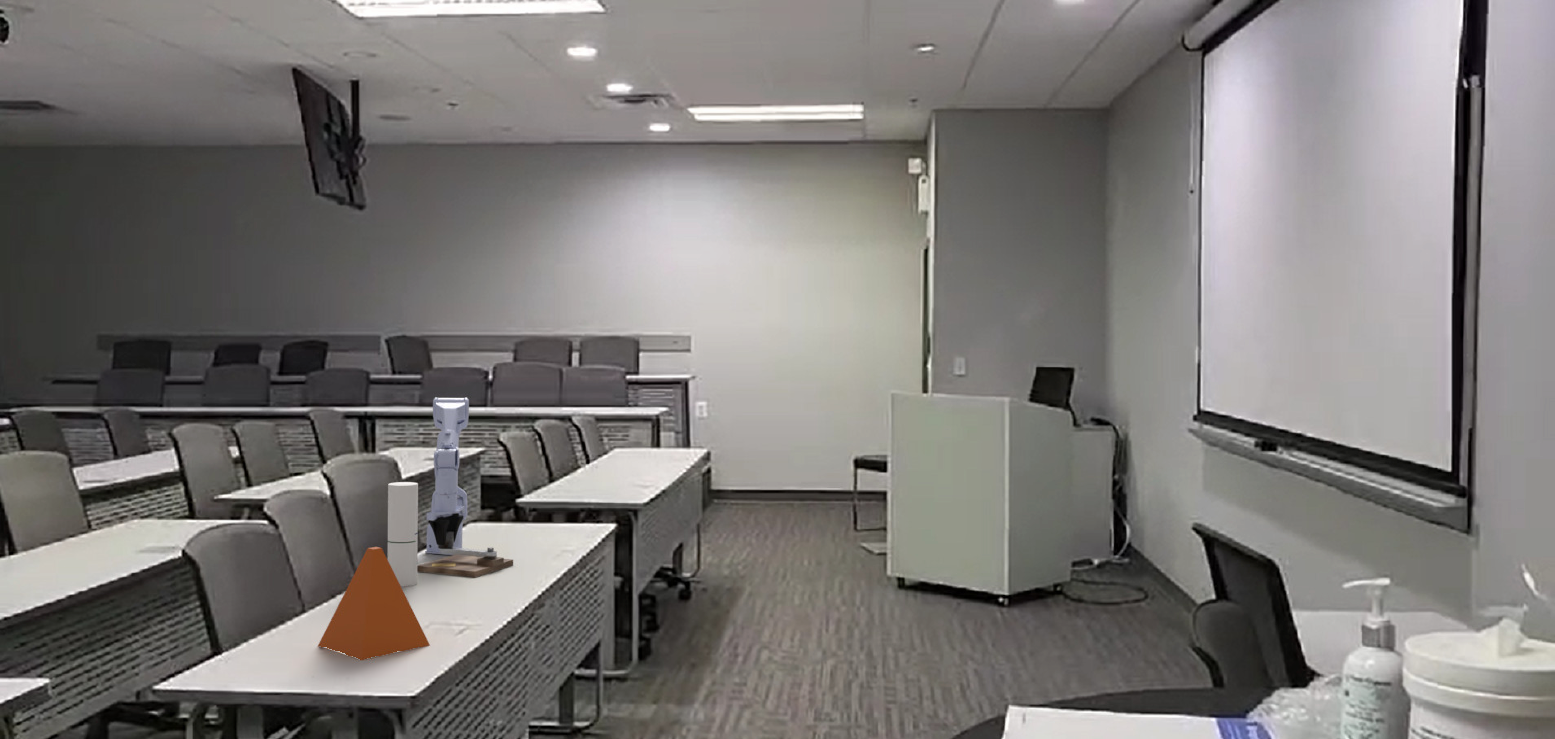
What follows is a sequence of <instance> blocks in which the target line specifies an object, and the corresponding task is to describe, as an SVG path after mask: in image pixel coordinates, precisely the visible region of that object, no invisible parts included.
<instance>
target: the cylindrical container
mask: <svg viewBox="0 0 1555 739" xmlns="http://www.w3.org/2000/svg"><path fill="white" fill-rule="evenodd" d="M418 515H419V483H418V482H413V481H399V482H397V481H396V482H390V483H388V484H387V560H388V562H389V564H390V566H391V568H392V570H393V572H394V574H395V576H396V578H397V580H398V582H399V584H400V586H401V587H410V586H415V585H417V584H418V571H417V565H418V546H419V545H418V543H419V542H418V536H419V535H418V532H419V531H418V526H419V525H418V522H419V518H418V517H419V516H418Z"/></svg>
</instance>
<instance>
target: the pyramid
mask: <svg viewBox="0 0 1555 739" xmlns="http://www.w3.org/2000/svg"><path fill="white" fill-rule="evenodd" d="M319 646H321V647H320V648H322V647H327V648H329V649H332V650H335V651H340V652H342V653H345V654H346V655H348V656H347V657H349V656H353V657H356V658H358V659H360V660H359V661H365V660H364V659H366V660H368V659H367V658H370V659H372V658H371V657H375V656H379V657H383V656H382V655H384V656H387V655H386V654H388V655H391V654H390V653H393V652H397V651H402V652H405V651H406V650H407V651H410V649H411V650H414V649H413V648H416V649H419V648H418V647H420V648H423V647H424V648H425V647H429V646H431V644H430V642H429V641H428V638H427V636H426V634H425V632H424V630H423V628H422V626H421V624H420V622H419V620H418V618H417V615H416V614H415V613H414V610H413V608H412V606H411V604H410V602H409V600H408V598H407V596H406V594H405V592H404V590H403V588H402V586H400V584H399V582H398V580H397V578H396V576H395V574H394V572H393V570H392V568H391V566H390V564H389V562H388V557H387V556H386V554H385V553H384V549H383V548H382V547H378V546H374V547H373V546H372V547H368V548H367V549H366V550H365V552H364V555H363V556H362V559H361V560H360V562H359V564H358V566H357V568H356V570H355V573H353V576H352V578H351V580H350V582H349V584H348V586H347V588H346V590H345V592H344V594H343V595H342V598H341V599H340V602H339V603H338V606H337V607H336V610H335V611H334V613H333V615H332V617H331V619H330V621H329V623H328V625H327V626H326V629H325V631H324V633H323V635H322V637H321V638H320V640H319V643H318V644H317V647H319ZM393 654H394V653H393ZM346 655H345V656H346ZM375 658H376V657H375ZM358 659H357V660H358Z"/></svg>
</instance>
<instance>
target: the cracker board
mask: <svg viewBox="0 0 1555 739" xmlns="http://www.w3.org/2000/svg"><path fill="white" fill-rule="evenodd" d="M512 566H514V559H510V558H504V557H501V556H500V557H499V556H497V557H496V558H485V557H474V556H464V555H448V556H446V557H443V558H438V559H435V560H432V561H428V562H425V563H422V564H417V573H418V572H419V573H420V572H421V573H429V574H439V575H450V576H459V577H469V578H477V577H480V576H483V575H484V576H485V575H487V574H491V573H494V572H496V571H499V570H500V571H501V570H503V569H505V568H508V567H509V568H510V567H512Z"/></svg>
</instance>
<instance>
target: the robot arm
mask: <svg viewBox="0 0 1555 739" xmlns="http://www.w3.org/2000/svg"><path fill="white" fill-rule="evenodd" d="M469 414H470V399H469V398H468V397H436V396H435V397H434V398H433V400H432V418H433V423H434V427H435V428H437V429H439V430H440V432H439V433H438V434H437V437H436V438H437V439H436V450H434V451H433V468H434V477H435V479H434V480H435V481H434V482H435V487H434V488H435V489H434V492H433V494H432V496H431V499H432V500H431V507H430V508H431V509H430V512H426V521H428V525H427V528H426V550H425V551H424V553H425V554H433V555H444V556H445V555H446V556H453V554H442V553H440V549H439V548H438V545H445V541H446V532H447V530H452V531H454V542H453V547H455V548H463V522H464V521H466V519H467V518H468V494H467V492H466V491H465V490H464V489H462V488H461V487H459V486H458V484H459V483H458V482H459V480H458V478H459V468H460V449H459V445H460V440H459V439H460V435H461V432H462V430H464V429H465V428H468V424H469Z"/></svg>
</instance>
